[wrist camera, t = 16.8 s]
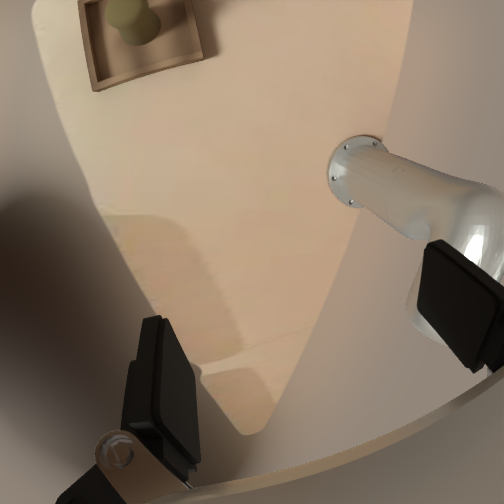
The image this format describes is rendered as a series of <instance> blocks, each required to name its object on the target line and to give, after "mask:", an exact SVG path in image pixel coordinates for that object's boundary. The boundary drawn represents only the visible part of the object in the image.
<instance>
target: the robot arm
mask: <svg viewBox="0 0 504 504" xmlns="http://www.w3.org/2000/svg"><path fill="white" fill-rule="evenodd" d="M344 146H345V148H344ZM327 174H328V182H329V186H330V188H331V191H332V193H333V194H334V195H335V197H336V198H337V199H338V200H339V201H341V202H342V203H344V204H345V205H347V206H349V207H354V208H363V207H365V208H366V209H368V210H369V211H371V212H372V213H373V214H375V215H376V216H377V217H379V218H380V219H382V220H383V221H384V222H386V223H387V224H388V225H390V226H391V227H393V228H394V229H395V230H396V231H398V232H399V233H401V234H402V235H404V236H405V237H407V238H410V239H415V240H428V243H427V246H426V248H425V249H424V256H423V258H422V261H421V263H420V266H419V268H418V271H417V273H416V276H415V278H414V281H413V283H412V286H411V288H410V291H409V293H408V296H407V300H406V313H407V316H408V318H409V320H410V322H411V323H412V324H413V326H414V327H415V328H416V329H418V330H419V331H420V332H422V333H423V334H424V335H426V336H428V337H429V338H431V339H433V340H435V341H437V342H439V343H441V344H443V345H445V346H448V347H449V348H450V349H451V350H452V351H453V353H454V354H455V355H456V356H457V357H458V358H459V360H460V361H461V362H462V364H463V365H464V366H465V367H466V368H470V370H471V371H472V372H473V373H475V372H477V371H479V370H480V369H482V368H483V366H484V364H486V365H487V367H488V368H487V369H488V370H487V378H486V379H485V380H483V381H482V382H480V383H479V384H477V385H476V386H474V387H472V388H471V389H469V390H468V391H466V392H465V393H463V394H461V395H460V396H458V397H456V398H455V399H453V400H451V401H450V402H448V403H446V404H445V405H443V406H441V407H439V408H438V409H436V410H434V411H432V412H430V413H429V414H427V415H425V416H423V417H421V418H419V419H417V420H415V421H413V422H411V423H409V424H407V425H405V426H403V427H401V428H399V429H396V430H394V431H392V432H390V433H388V434H385V435H383V436H381V437H378V438H376V439H374V440H371V441H369V442H366V443H364V444H361V445H359V446H356V447H353V448H351V449H348V450H346V451H343V452H340V453H337V454H334V455H332V456H328V457H325V458H322V459H319V460H316V461H313V462H309V463H306V464H302V465H299V466H295V467H291V468H288V469H284V470H280V471H276V472H272V473H268V474H264V475H259V476H255V477H250V478H245V479H240V480H235V481H229V482H224V483H219V484H214V485H209V486H202V487H197V488H192V487H191V486H190V485H189V484H188V483H187V482H186V481H187V480H188V473H189V472H197V467H196V463H200V462H201V453H200V442H199V430H198V417H197V402H196V386H195V385H196V384H195V376H194V372H193V369H192V368H191V366H190V363H189V361H188V359H187V357H186V355H185V353H184V351H183V349H182V347H181V345H180V343H179V341H178V339H177V337H176V335H175V333H174V331H173V328H172V326H171V324H170V322H169V320H168V319H167V318H164V319H163V318H162V317H161V315H157V316H153V317H148V318H144V319H143V322H142V328H141V333H140V339H139V345H138V352H137V358H136V360H133V361H131V362H130V365H129V369H128V375H127V382H126V389H125V396H124V403H123V411H122V420H121V429H120V430H115V431H111V432H109V433H107V434H106V435H104V436H103V437H102V438H101V439H100V440H99V442H98V444H97V445H96V448H95V453H94V454H95V461H96V464H95V465H94V466H93V467H92V468H91V469H90V470H89V471H87V472H86V473H85V474H84V475H83V476H82V477H81V478H79V479H78V480H77V481H76V482H75V483H74V484H73V485H71V486H70V487H69V488H68V489H67V490H66V491H64V492H63V493H62V494H61V495H60V496H59V498H58V499H57V501H56V503H55V504H504V287H503V286H502V285H501V284H500V281H501V279H502V277H503V275H504V192H502V191H500V190H498V189H496V188H494V187H492V186H489V185H486V184H483V183H479V182H474V181H470V180H465V179H461V178H457V177H454V176H450V175H448V174H445V173H442V172H439V171H437V170H434V169H431V168H429V167H426V166H423V165H421V164H418V163H416V162H413V161H410V160H408V159H406V158H402V157H400V156H396V155H394V154H391V153H389V152H388V150H387V148H386V147H385V146H384V145H383V144H382V143H381V142H379V141H378V140H376V139H374V138H371V137H368V136H354V137H352V138H349V139H347V140H345V141H344V142H342V143H341V144H340V145H339V146H338V147H337V148H336V150H335V151H334V152H333V154H332V156H331V158H330V161H329V165H328V172H327ZM332 177H333V178H332Z"/></svg>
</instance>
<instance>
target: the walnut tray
mask: <svg viewBox="0 0 504 504" xmlns="http://www.w3.org/2000/svg"><path fill="white" fill-rule="evenodd" d="M147 1H148V4H149V9H151V10H152V11H153V12H154V13H155V14H156V15H157V16H158V17H159V19H160V21H161V28H160V31H159V33H158V34H157V36H156V37H155V38H154V39H153V40H152V41H151V42H149V43H147V44H144V45H140V46H133V45H129V44H127V43H126V42H125V41H124V40H123V39H122V37H121V35H120V33H119V31H118V29H116V28H114V27H112V26H111V25H110V24H109V23H108V22H107V21H106V18H105V9H106V7H107V4H108V3H109V2H110V0H78V10H79V18H80V25H81V32H82V39H83V45H84V51H85V56H86V62H87V67H88V72H89V77H90V82H91V86H92V91H94V92H100V91H102V90H105V89H108V88H110V87H113V86H116V85H119V84H121V83H124V82H127V81H130V80H133V79H136V78H139V77H142V76H146V75H149V74H152V73H156V72H159V71H163V70H166V69H170V68H174V67H177V66H181V65H185V64H190V63H194V62H198V61H203V54H202V49H201V44H200V40H199V35H198V30H197V26H196V21H195V16H194V12H193V7H192V2H191V0H147Z"/></svg>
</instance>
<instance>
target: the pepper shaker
mask: <svg viewBox="0 0 504 504" xmlns="http://www.w3.org/2000/svg"><path fill="white" fill-rule="evenodd" d="M105 18H106V21H107V22H108V23H109V24H110V25H111V26H112V27H114V28H116V29H118V31H119V33H120V35H121V37H122V39H123V40H124V41H125V42H126V43H127V44H129V45H133V46H140V45H144V44H147V43H149V42H151V41H152V40H153V39H154V38H155V37H156V36H157V34H158V33H159V31H160V28H161V21H160V19H159V17H158V16H157V15H156V14H155V13H154V12H153V11H152V10H151V9H149V4H148V1H147V0H110V2H109V3H108V4H107V7H106V9H105Z"/></svg>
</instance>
